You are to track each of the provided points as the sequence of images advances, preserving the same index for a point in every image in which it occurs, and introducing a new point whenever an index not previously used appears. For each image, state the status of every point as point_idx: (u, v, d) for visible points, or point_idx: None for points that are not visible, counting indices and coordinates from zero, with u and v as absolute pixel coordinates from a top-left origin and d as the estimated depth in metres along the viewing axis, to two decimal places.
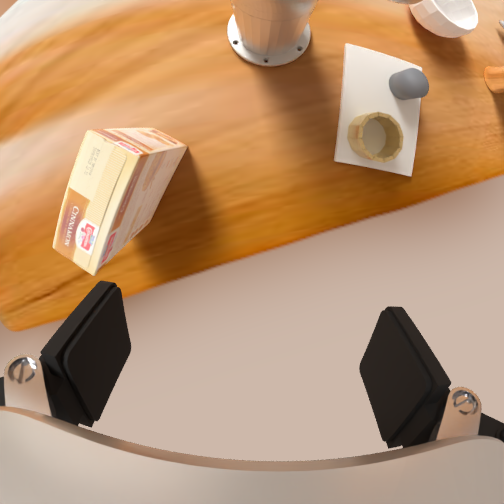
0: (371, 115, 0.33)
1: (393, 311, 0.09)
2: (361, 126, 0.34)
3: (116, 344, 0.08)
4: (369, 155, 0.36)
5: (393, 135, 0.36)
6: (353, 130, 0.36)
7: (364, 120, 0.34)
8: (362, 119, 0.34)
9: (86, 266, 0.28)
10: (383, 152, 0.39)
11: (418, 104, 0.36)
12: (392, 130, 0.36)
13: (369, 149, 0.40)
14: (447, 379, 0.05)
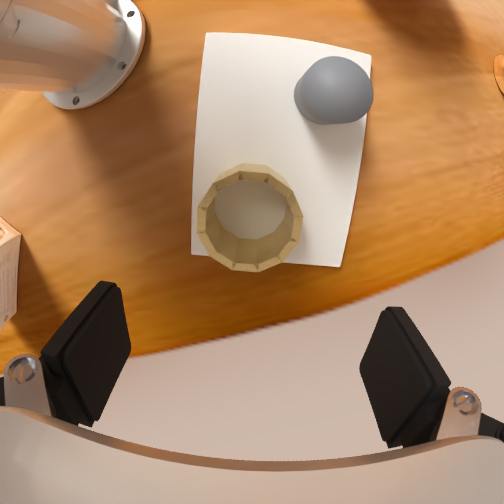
0: (223, 181, 0.18)
1: (393, 311, 0.09)
2: (201, 208, 0.19)
3: (116, 344, 0.08)
4: (224, 262, 0.21)
5: (290, 208, 0.21)
6: None
7: (207, 195, 0.19)
8: None
9: None
10: (274, 237, 0.24)
11: (361, 130, 0.21)
12: None
13: (252, 229, 0.25)
14: (447, 379, 0.05)
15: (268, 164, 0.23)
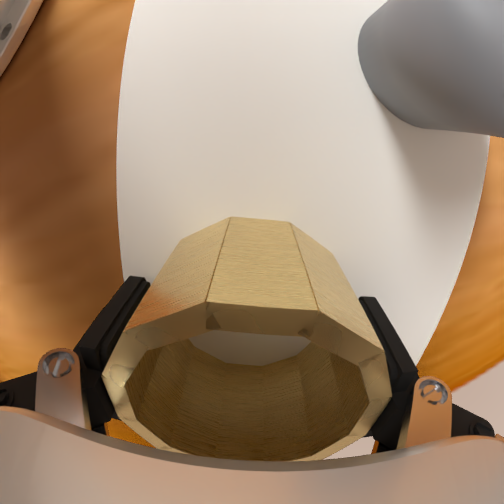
0: (153, 330, 0.05)
1: (365, 300, 0.09)
2: (113, 381, 0.06)
3: None
4: None
5: None
6: None
7: (118, 356, 0.05)
8: None
9: None
10: (301, 378, 0.10)
11: (483, 148, 0.08)
12: None
13: (254, 351, 0.12)
14: (413, 367, 0.06)
15: (294, 220, 0.09)
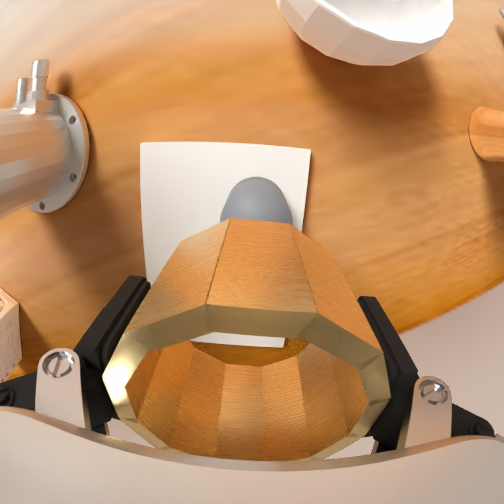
0: (154, 332, 0.05)
1: (364, 300, 0.09)
2: (113, 382, 0.06)
3: None
4: None
5: None
6: None
7: (118, 358, 0.05)
8: None
9: None
10: (301, 379, 0.10)
11: None
12: None
13: None
14: (413, 367, 0.06)
15: None
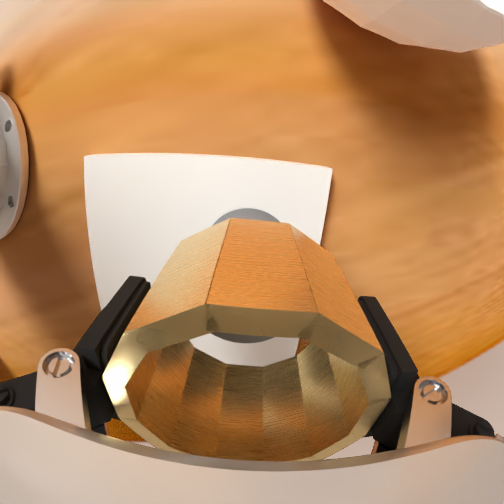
0: (154, 332, 0.05)
1: (364, 300, 0.09)
2: (113, 382, 0.06)
3: None
4: None
5: None
6: None
7: (118, 358, 0.05)
8: None
9: None
10: (301, 379, 0.10)
11: None
12: None
13: None
14: (413, 367, 0.06)
15: None
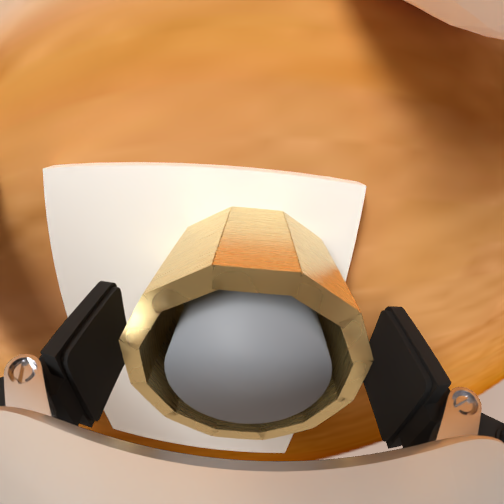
0: (168, 292, 0.06)
1: (393, 311, 0.09)
2: (129, 344, 0.07)
3: (116, 344, 0.08)
4: (196, 426, 0.09)
5: None
6: None
7: (135, 319, 0.07)
8: None
9: None
10: None
11: None
12: None
13: (170, 426, 0.17)
14: (447, 379, 0.05)
15: None
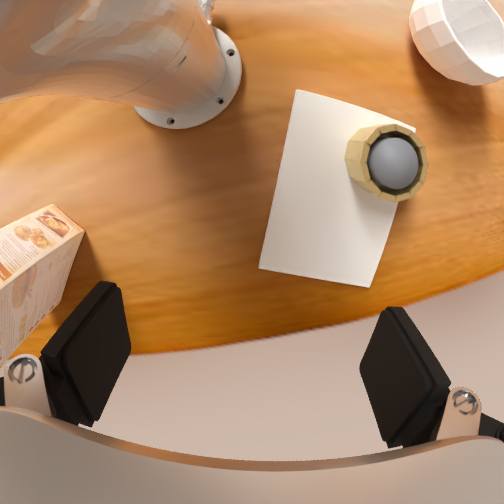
0: (384, 128, 0.22)
1: (393, 311, 0.09)
2: (367, 144, 0.22)
3: (116, 344, 0.08)
4: (374, 190, 0.24)
5: None
6: (354, 148, 0.25)
7: (373, 135, 0.22)
8: (369, 133, 0.22)
9: None
10: None
11: None
12: None
13: (310, 253, 0.32)
14: (446, 379, 0.05)
15: (330, 206, 0.30)
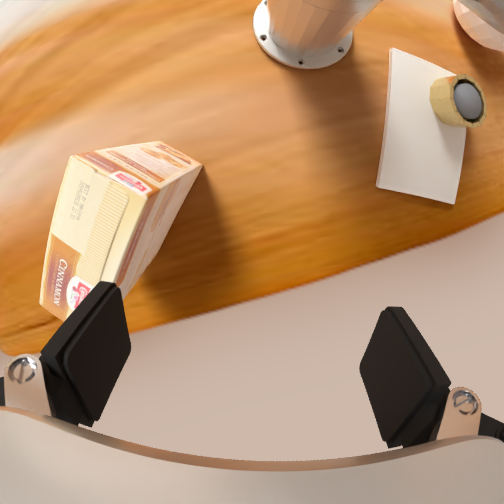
0: (459, 76, 0.23)
1: (393, 311, 0.09)
2: (452, 86, 0.23)
3: (116, 344, 0.08)
4: (460, 118, 0.25)
5: None
6: (440, 90, 0.26)
7: (454, 80, 0.23)
8: (450, 79, 0.24)
9: None
10: (464, 119, 0.28)
11: None
12: None
13: (415, 174, 0.33)
14: (446, 379, 0.05)
15: (425, 135, 0.31)
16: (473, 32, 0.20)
